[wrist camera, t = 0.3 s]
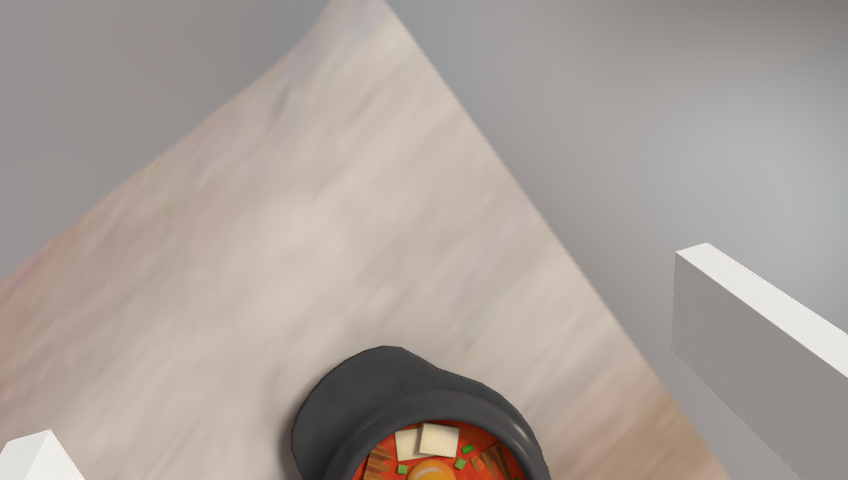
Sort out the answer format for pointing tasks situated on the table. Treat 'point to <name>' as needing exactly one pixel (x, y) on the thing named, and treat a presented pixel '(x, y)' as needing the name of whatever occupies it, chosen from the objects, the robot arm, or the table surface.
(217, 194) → the table surface
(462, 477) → the casserole
